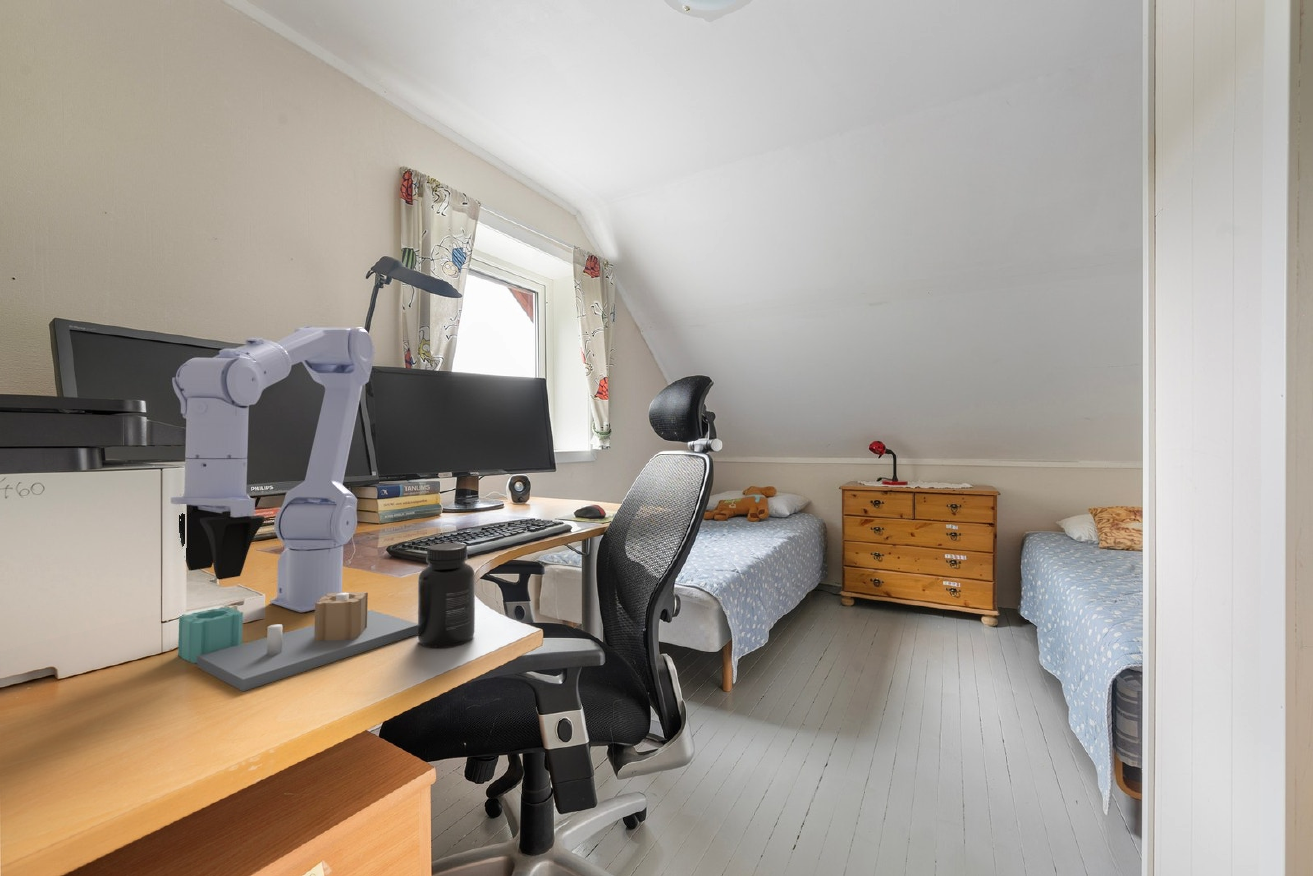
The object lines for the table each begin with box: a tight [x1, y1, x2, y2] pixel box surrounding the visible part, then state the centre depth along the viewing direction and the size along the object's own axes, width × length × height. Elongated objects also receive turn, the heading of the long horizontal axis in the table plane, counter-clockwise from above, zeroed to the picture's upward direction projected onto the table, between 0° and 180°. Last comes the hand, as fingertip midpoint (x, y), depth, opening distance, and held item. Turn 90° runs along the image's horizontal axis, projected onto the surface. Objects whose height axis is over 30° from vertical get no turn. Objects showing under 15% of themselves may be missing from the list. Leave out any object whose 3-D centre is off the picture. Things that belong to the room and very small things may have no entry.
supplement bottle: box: [417, 542, 476, 649], centre depth 69 cm, size 7×7×12 cm
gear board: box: [196, 591, 418, 692], centre depth 65 cm, size 11×20×6 cm, turn 149°
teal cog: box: [177, 606, 244, 664], centre depth 63 cm, size 5×5×4 cm
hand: (213, 573), depth 64 cm, fingers open, 7 cm apart
